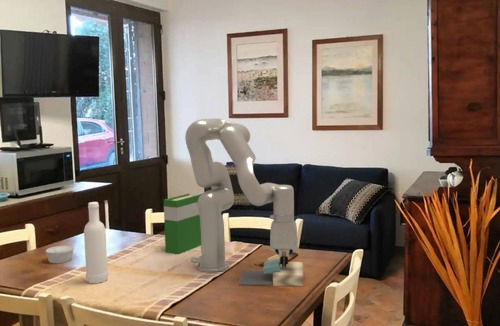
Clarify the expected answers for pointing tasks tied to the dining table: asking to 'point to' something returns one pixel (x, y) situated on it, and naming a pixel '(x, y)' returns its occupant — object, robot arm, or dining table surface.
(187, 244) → the hardback book
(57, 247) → the ramekin
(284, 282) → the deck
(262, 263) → the parchment
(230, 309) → the dining table surface
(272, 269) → the tile
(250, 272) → the mat
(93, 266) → the bottle
